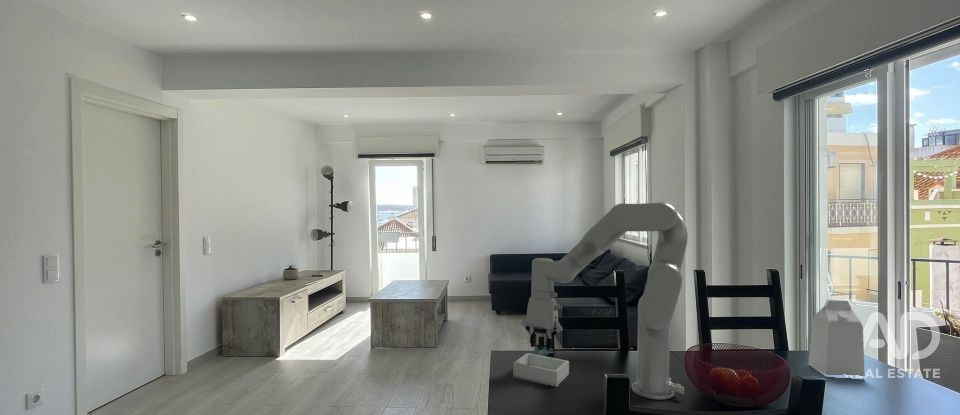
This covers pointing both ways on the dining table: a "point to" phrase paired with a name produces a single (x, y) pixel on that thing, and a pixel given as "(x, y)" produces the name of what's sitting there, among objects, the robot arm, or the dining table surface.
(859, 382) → the dining table surface
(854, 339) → the milk
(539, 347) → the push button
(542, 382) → the bin
